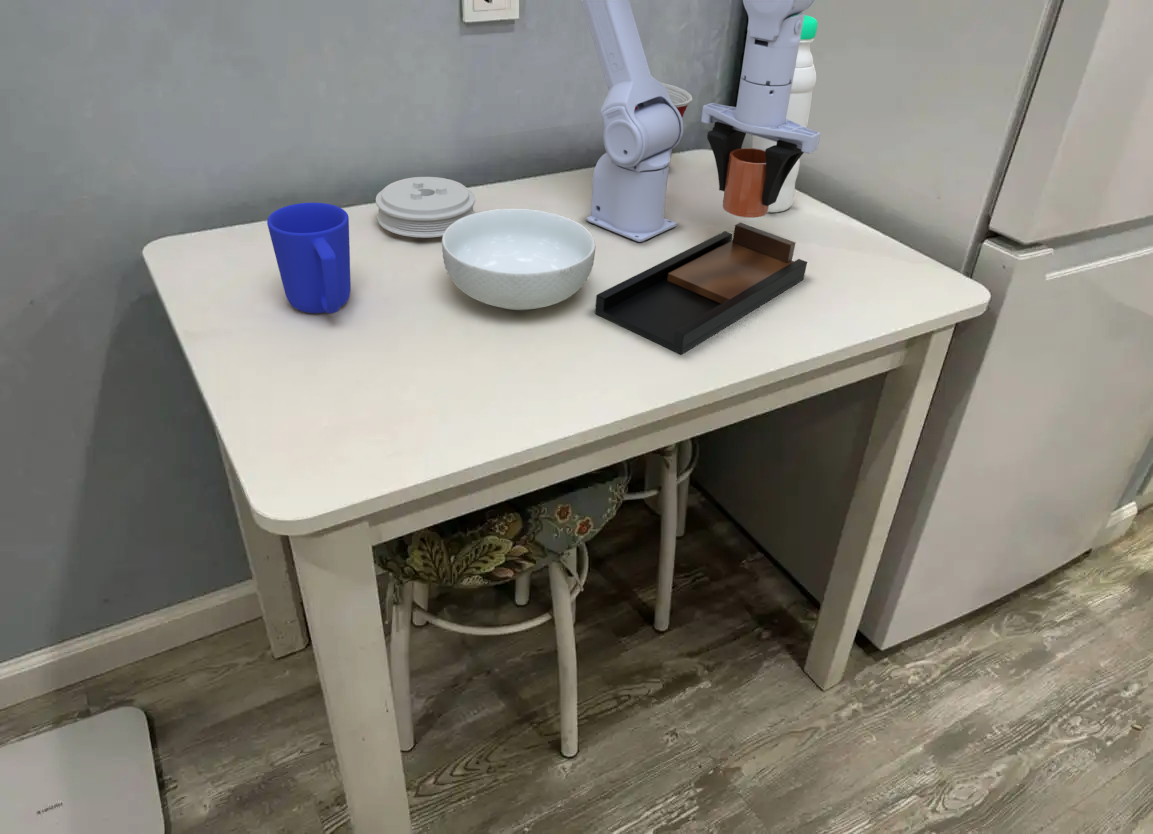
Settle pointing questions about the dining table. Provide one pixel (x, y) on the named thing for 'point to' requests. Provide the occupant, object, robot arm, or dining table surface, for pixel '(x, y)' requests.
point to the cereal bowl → (518, 257)
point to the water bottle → (796, 107)
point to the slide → (735, 264)
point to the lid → (423, 206)
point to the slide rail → (686, 301)
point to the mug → (312, 255)
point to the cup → (745, 183)
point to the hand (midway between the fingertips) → (747, 196)
